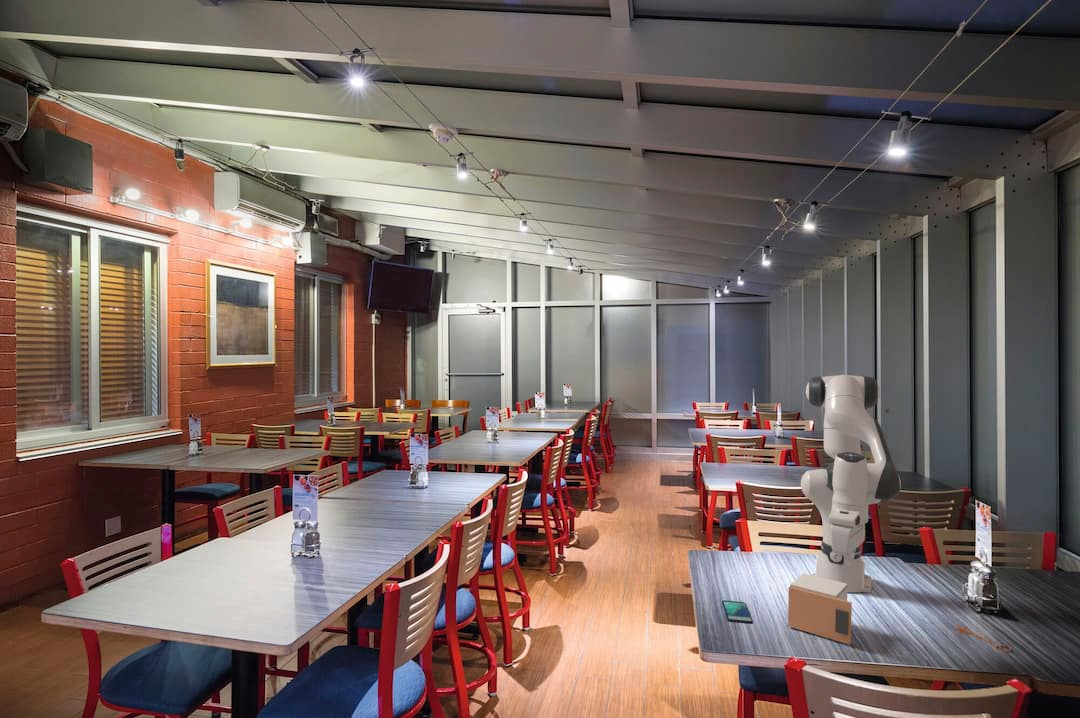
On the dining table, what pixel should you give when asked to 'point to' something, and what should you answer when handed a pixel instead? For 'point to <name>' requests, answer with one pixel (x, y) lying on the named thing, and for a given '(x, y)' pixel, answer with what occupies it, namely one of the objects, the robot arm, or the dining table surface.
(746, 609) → the smartphone
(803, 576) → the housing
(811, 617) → the hatch
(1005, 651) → the key
